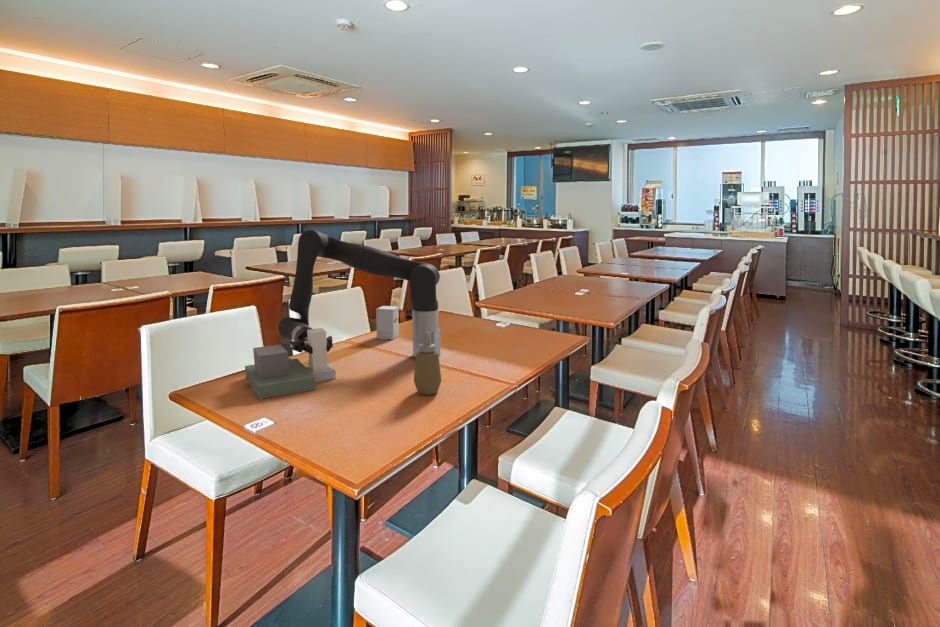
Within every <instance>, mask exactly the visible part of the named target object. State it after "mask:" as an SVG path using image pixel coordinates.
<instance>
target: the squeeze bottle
mask: <svg viewBox="0 0 940 627" xmlns="http://www.w3.org/2000/svg"><path fill="white" fill-rule="evenodd" d="M414 360H415V362H414V373H413V382H414V386H415V389H416V391H417V393H418V394H419V395H421V394H423V396H431V395H430V394H433V395H436V394H437V393H438V392H439V389H440V386H441V384H442V374H441V365H440V364H441V363H440V355H439V354H438V353H437V352H436V351H435V344H432V343H431V339H430V335H429V332H426V333H425V335H424V340H423V344H420V345H419V352H417V354H416V358H415V359H414ZM435 393H436V394H435Z"/></svg>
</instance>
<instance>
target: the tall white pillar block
mask: <svg viewBox="0 0 940 627" xmlns="http://www.w3.org/2000/svg"><path fill="white" fill-rule="evenodd" d="M307 337H308V345H310V346H311V347H312V349H313V354H310V353H308V366H309V370H310V372H311V373H312V372H318V371H324V370H328V364H329V363H328V362H329V361H328V352H327V342H326V339H327V331H326V330H325V329H324V328H322V327H319V328H312V329H310V330H307Z"/></svg>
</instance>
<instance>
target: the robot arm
mask: <svg viewBox="0 0 940 627" xmlns="http://www.w3.org/2000/svg"><path fill="white" fill-rule="evenodd" d="M318 258H324V259H329V260H335V261H338V262H341V263H342V264H345V265H346V266H348V267H351V268H352V269H355V270H357V271H360V272H364V273H366V274H370V275H374V276H379V277H387V278H388V277H389V278H399V279H401V280H405V281H408V282H409V293H410V294H409V295H410V297H409V298H410V303H411V311H412V312H411V314H412V317H411V318H412V322H411V323H412V356H413V357H414V358H415V357H416V354H417V352H419V345H420V344H423V340H424V335H425V333H426V332H429V335H430V339H431V343H432V344H435V351H436V352H437V353H438V354H439V356H440V355H441V329H440V328H439V301H438V300H437V286H436V285H438V283H439V282H440V277H441V275H440V272H439V270H438V269H437V267H436V266H434V265H433V264H431V263H427V262H422V261H417V260H413V259H412V260H411V259H408V258H403V257H400V256H399V255H395V254H393V253H391V252H388V251H385V250H381V249H379V248H376V247H372V246H368V245H364V244H360V243H355V242H348V241H344V240H340V239H337V238H336V237H333V236H330V235H329V234H326V233H325V232H322V231H319V230H316V229H307V230H304V231H303V232H302V233H301V234H300V235H299V237H298V241H297V256H296V267H295V274H294V276H295V277H294V281H293V285H292V286H293V287H292V291H291V294H290V299H289V303H288V309H289V310H290V311H291V312H294V313H296V314H298V315H299V318H296V317H289V316H285V317H283V318H281V319H280V321H279V322H278V326H277V328H278V332H279V334H280V336H282V337H284V338H286V339H289V340H290V341H289V345H290V350H292V351H295V352H298V353H303V351H304V353H308V354H309V353H310V354H313V349H312V347H311V346H310V345H308V337H307V330H310V329H313V328H312V327H311V326H310V322H309V321H310V320H309V314H310V313H309V312H310V305H311V303H312V302H311V301H312V298H313V292H314V291H313V290H314V278H313V277H314V268H315V263H316V261H317V259H318ZM326 342H327V353H328V352H330V351H331V349H333V336H331V335H329V336H328V337H327V336H326Z"/></svg>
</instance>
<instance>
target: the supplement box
mask: <svg viewBox="0 0 940 627" xmlns="http://www.w3.org/2000/svg"><path fill="white" fill-rule="evenodd" d="M375 314H376V315H375V317H376V318H375V319H376V320H375V321H376V322H375V323H376V339H377V338H380V339H379V340H387V339H391V341H393V340H394V339H396V338H397V337H399V336H400V328H399V327H400V324H399V322H400V321H399V320H400V319H399V306H394V305H392V306H391V305H381V306H379V307H378V308H376V309H375Z"/></svg>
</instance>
